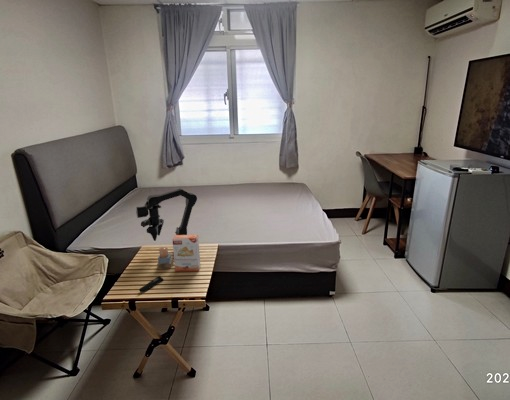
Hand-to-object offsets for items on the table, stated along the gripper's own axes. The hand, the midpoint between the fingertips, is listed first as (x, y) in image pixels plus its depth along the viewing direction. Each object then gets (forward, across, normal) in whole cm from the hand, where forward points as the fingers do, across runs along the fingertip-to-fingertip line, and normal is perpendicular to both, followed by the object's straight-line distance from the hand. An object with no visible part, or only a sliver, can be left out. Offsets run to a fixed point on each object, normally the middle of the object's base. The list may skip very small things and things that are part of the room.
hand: (156, 237), depth 203 cm
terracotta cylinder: (+6, +16, +8) cm, 19 cm away
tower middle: (+9, +16, +8) cm, 20 cm away
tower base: (+12, +16, +8) cm, 22 cm away
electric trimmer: (+13, +40, +7) cm, 42 cm away
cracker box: (+12, +22, +23) cm, 34 cm away
